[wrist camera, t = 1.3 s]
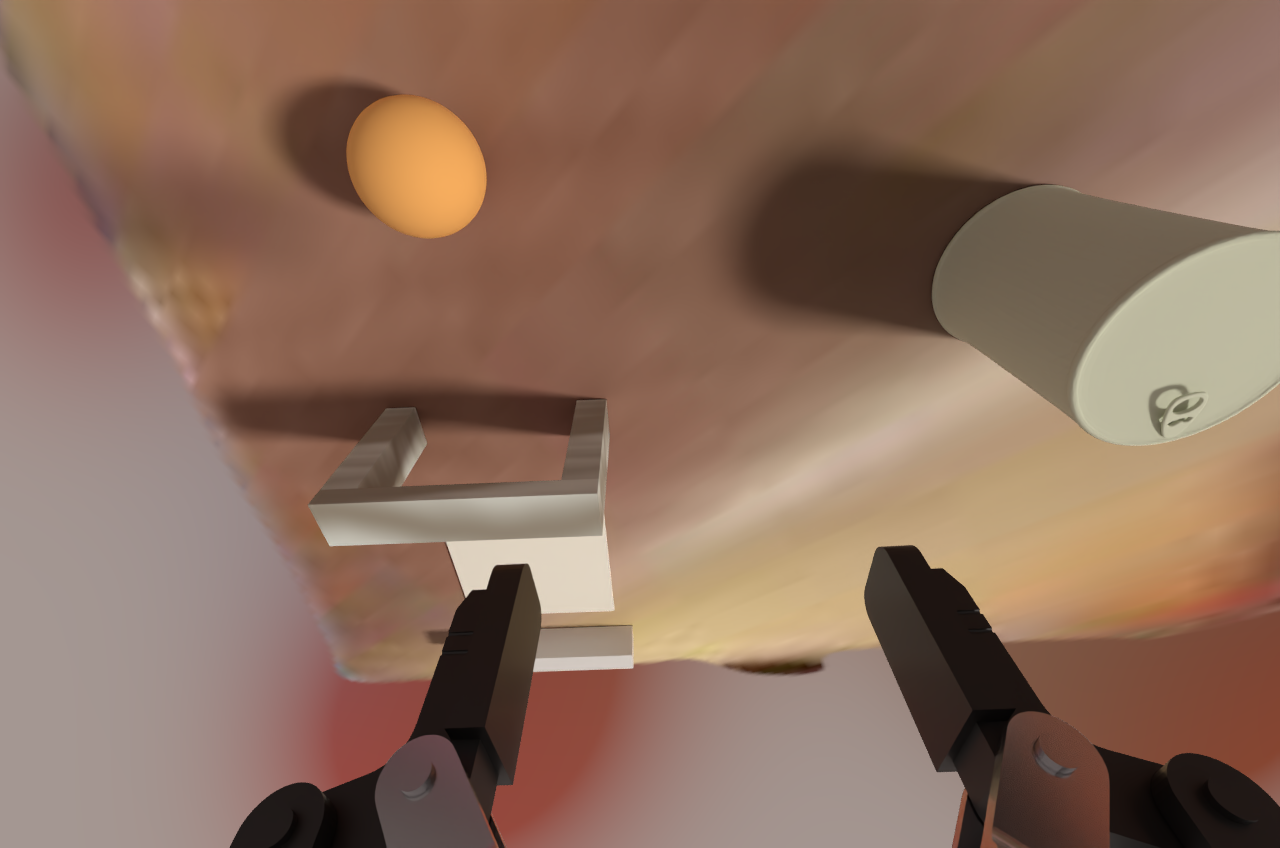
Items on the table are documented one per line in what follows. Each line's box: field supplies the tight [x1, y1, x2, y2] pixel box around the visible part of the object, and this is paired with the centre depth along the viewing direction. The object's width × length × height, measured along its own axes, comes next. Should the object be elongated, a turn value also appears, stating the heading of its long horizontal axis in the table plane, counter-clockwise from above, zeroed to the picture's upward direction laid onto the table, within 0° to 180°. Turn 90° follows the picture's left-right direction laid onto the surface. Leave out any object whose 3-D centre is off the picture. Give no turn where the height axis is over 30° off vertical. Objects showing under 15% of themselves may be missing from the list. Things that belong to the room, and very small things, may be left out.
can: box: [932, 185, 1280, 446], centre depth 24 cm, size 9×9×12 cm
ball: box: [346, 94, 487, 238], centre depth 24 cm, size 6×6×6 cm
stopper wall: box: [533, 626, 633, 672], centre depth 46 cm, size 2×16×3 cm, turn 93°
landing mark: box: [446, 518, 614, 614], centre depth 42 cm, size 13×13×1 cm
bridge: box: [308, 399, 610, 546], centre depth 31 cm, size 3×15×10 cm, turn 93°
